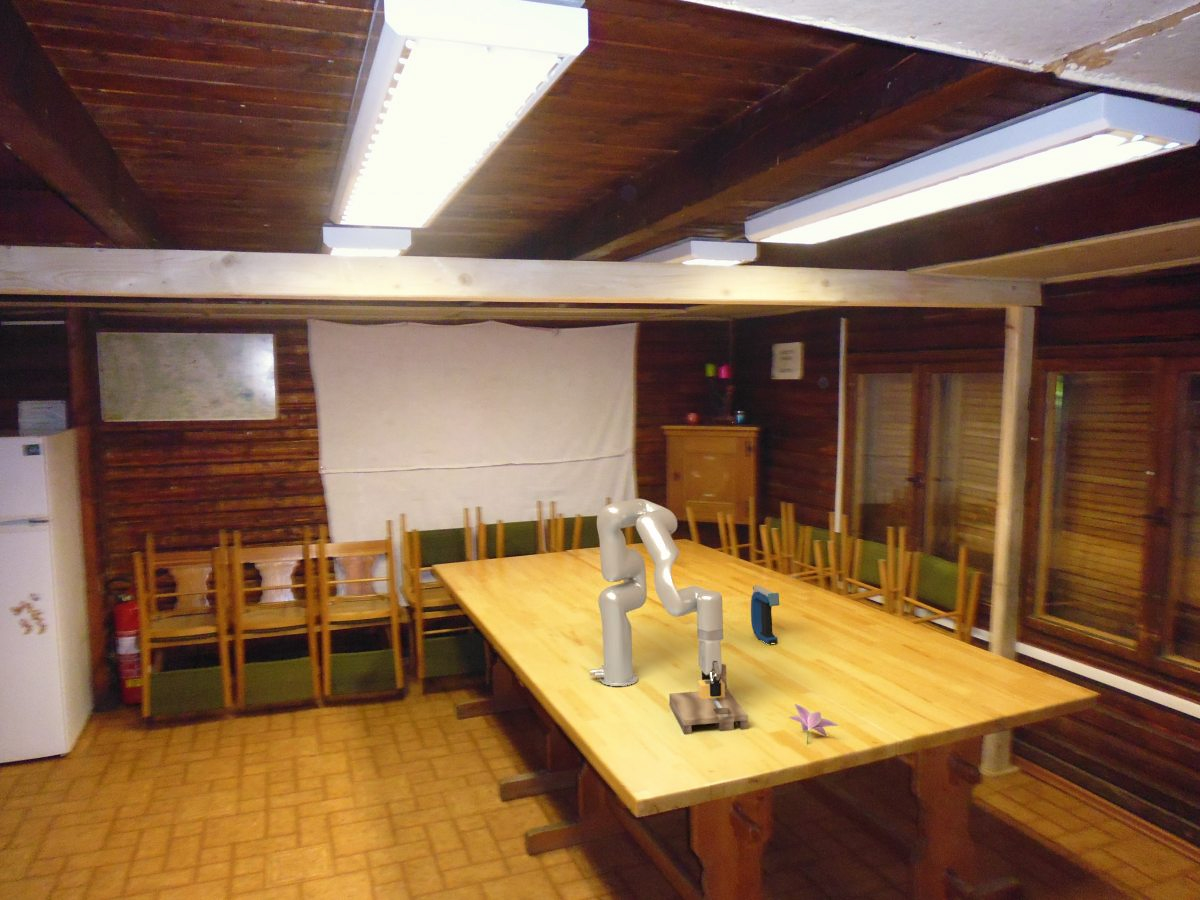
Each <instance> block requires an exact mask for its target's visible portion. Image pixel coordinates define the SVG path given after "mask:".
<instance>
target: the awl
mask: <svg viewBox="0 0 1200 900" xmlns="http://www.w3.org/2000/svg"><path fill="white" fill-rule="evenodd" d="M720 677H721V680H722V681H723V682H724V684H725V689H728V688H727V687H728V686H727V685H728V684H727V683H728V681H727V664H725V663H722V671H721V674H720Z"/></svg>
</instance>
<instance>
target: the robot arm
mask: <svg viewBox="0 0 1200 900" xmlns="http://www.w3.org/2000/svg"><path fill="white" fill-rule="evenodd" d="M630 527H635V528H636V531H637V534H638V535H639V537H640V539H641V541H642V542H643V545H644V546H645V548H646V551H647V553H648V554H649V556H650V558H651V560H652V562H653V564H654V571H653V573H654V574H653V578H654V579H653V580H654V588H655V591H656V594H657V596H658V598H659V600H660V602H661V604H662V606H663V608H664V609H665V610H666V612H667V613H668V614H669V615H671V616H672V617H676V618H680V617H684V616H686V615H688V614H689V615H690V614H692V613H696V618H697V619H696V627H697V629H696V631H697V632H696V633H697V637H696V638H697V640H698V667H699V668H700V670H701V680H711V683H710V696H711V697H714V696H721V677H720V674H721V671H722V664H723V663H722V651H721V650H722V649H721V648H722V646H721V641H722V640H724V625H723V624H724V620H723V616H724V614H723V612H724V611H723V595H722V594H721V593H720V592H718V591H715V590H708V589H705V588H703V587H700V586H696V585H691V586H687V587H685V588H684V587H683V588H681V589H677V587H676V585H675V583H674V580H673V577H672V569H673V565H674V563H675V561H677V559H679V556H680V550H679V549H678V547H677V545H676V544H675V542H674V539H673V538H672V534H673V533H675V532H676V530H677V529H678V520H677V517H676V515H675V514H674V513H673V512H672V511H671V510H670V509H668V508H667V507H664V506H662V505H659V504H657V503H654V502H652V501H649V500H647V499H644V498H634V499H628V500H621V501H616V502H613V503H609V504H607V505H605V506H604V507H602V508H601V509H600V511H599V512H598V514H597V517H596V529H597V534H598V539H599V554H600V570H601V571H600V572H601V575H602V578H603V580H604V581H606V582H609V583H614V582H615V583H616V582H617V583H618V582H621V581H623V582H621V583H618V584H614V585H611V586H609V587H606V588H604V589H603V590H602V591H601V592H600V594H599V596H598V608H599V611H600V617H601V626H602V629H601V630H602V646H603V648H602V652H603V653H602V654H603V664H602V666H601V667H599V669H595V668H594V669H589V675H590V676H594V678H599V682H600V681H601V682H602V683H604V684H606V685H605V686H607V685H610V686H609V687H612V686H622V687H627V685H628V686H632V685H635V684H636V683H637V682H638V680H639V677H638V674H637V673H636V672H634V666H633V662H634V661H633V638H632V637H633V636H632V631H633V630H632V624H631V622H630V619H629V618H628V616H627V613H629V612H631V611H635V610H637V609H640V608H641V607H643V606H644V604H645V603H646V601H647V595H648V589H647V573H646V571H647V570H646V569H647V568H646V563H645V562H646V561H645V559H644V557H643V555H642V553H640V552H639V550H636V549H635V548H627V546H626V545H627V541H626V537H625V535H624V533H623V531H622V530H621V529H624V528H630ZM601 682H600V683H601ZM602 683H601V684H602ZM604 684H603V685H604ZM631 684H632V685H631Z"/></svg>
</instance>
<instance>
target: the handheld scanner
mask: <svg viewBox="0 0 1200 900" xmlns="http://www.w3.org/2000/svg"><path fill="white" fill-rule="evenodd" d="M751 595H752V596H751V597H750V599H751V600H750V618H751V619H750V621H751V622H750V623H751V628H752V632H753V634H754V636H755V637H757V638H759V639H760V640H762V641H764V642H765V643H767V644H771V643H777V644H778V637H777V636H776V635H774V634H773V617H772V607H776V606H777V607H778V606H780V594H779V592H773V591H771V590H769V589H767V588H766V587H763V586H761V585H753V587H752V594H751ZM757 638H756V639H757ZM759 639H758V640H759ZM760 640H759V641H760ZM762 641H761V642H762ZM765 643H764V644H765ZM767 644H766V645H767Z"/></svg>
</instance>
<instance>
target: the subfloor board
mask: <svg viewBox="0 0 1200 900" xmlns="http://www.w3.org/2000/svg"><path fill="white" fill-rule="evenodd" d="M669 707H670V710H671V711H672V713H673V715H674V717H675V719H676V721H677V723H678V725H679V727H680V729H681V730H682V732H683V734H684V735H691V734H692V726H696V725H707V724H714V725H715V726H716V728H717V729H718V731H719V732H726V731H727V732H728V731H734V730H735V729H734V722H735V724H736V725H737V726H738V728H739V730H748V729H749V728H748V725H749V722H748V714H747V713H746V711H745V710H744V708H743V707H742V706H741V705H740V703H739V702H738V700H737V699H736V698H735V697H734V695H733V694H732V693H731V691H730V690H729V689H728V688H727V689H725V697H722V698H709V699H702V698H701V697H700V695H699V694H698V690H696V691H687V692H675V693H674V692H673V693H669Z"/></svg>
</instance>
